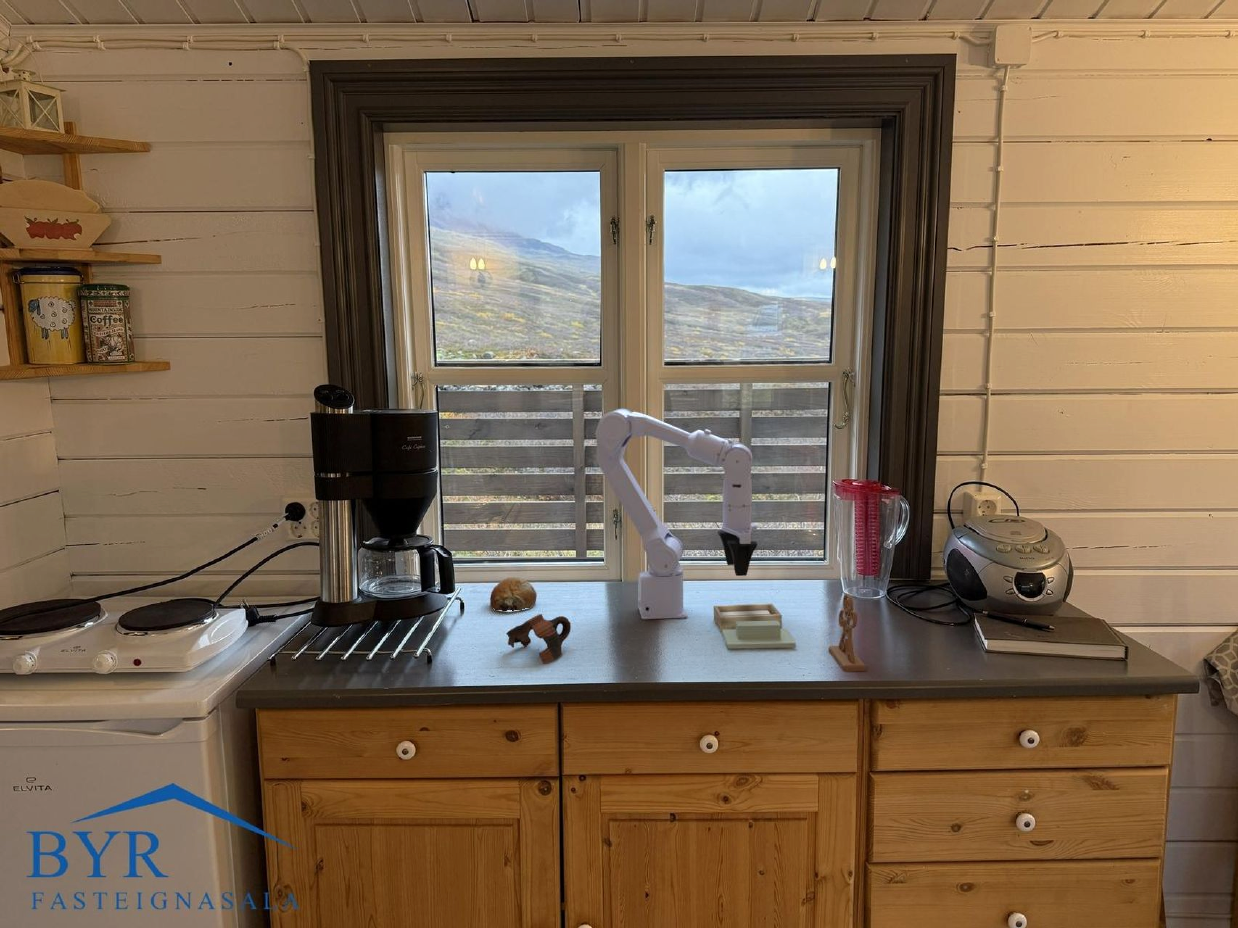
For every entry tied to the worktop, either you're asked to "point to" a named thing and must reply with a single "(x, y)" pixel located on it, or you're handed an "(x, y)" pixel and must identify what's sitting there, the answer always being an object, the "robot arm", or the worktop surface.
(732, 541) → the robot arm
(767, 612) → the box
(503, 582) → the bread roll
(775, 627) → the lid
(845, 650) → the tan tall carved piece
